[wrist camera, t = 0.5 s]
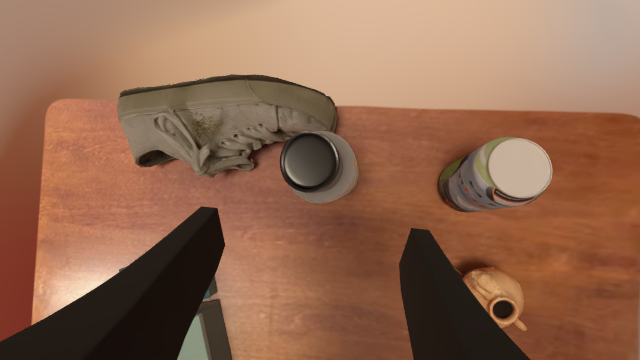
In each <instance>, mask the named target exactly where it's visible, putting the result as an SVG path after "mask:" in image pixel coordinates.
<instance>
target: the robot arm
mask: <svg viewBox="0 0 640 360" xmlns="http://www.w3.org/2000/svg"><path fill="white" fill-rule="evenodd" d="M224 247H225V242H224V237H223V233H222V228H221V223H220V218H219V214H218V209H217V208H211V207H200V208H199V209H198V210H197V211H195V212H194V213H193V214H192V215H191V216H189V217H188V218H187V219H186V220H185V221H184V222H182V223H181V224H180V225H179V226H178V227H177V228H175V229H174V230H173V231H172V232H171V233H169V234H168V235H167V236H166V237H165V238H163V239H162V240H161V241H160V242H158V243H157V244H156V245H155V246H153V247H152V248H151V249H150V250H148V251H147V252H146V253H145V254H143V255H142V256H141V257H139V258H138V259H137V260H135V261H134V262H133V263H131V264H130V265H129V266H127V267H126V268H125V269H123V270H122V271H120V272H119V273H118V274H116V275H115V276H113V277H112V278H110V279H109V280H107V281H106V282H104V283H103V284H101V285H100V286H98V287H97V288H95V289H94V290H92V291H90V292H89V293H87V294H86V295H84V296H82V297H81V298H79V299H77V300H75V301H74V302H72V303H70V304H69V305H67V306H65V307H64V308H62V309H60V310H58V311H57V312H55V313H53V314H52V315H50V316H48V317H46V318H45V319H43V320H41V321H39V322H37V323H35V324H33V325H32V326H30V327H28V328H26V329H24V330H22V331H20V332H18V333H16V334H15V335H13V336H11V337H9V338H7V339H5V340H3V341H1V342H0V360H177V359H178V356H179V353H180V351H181V348H182V345H183V343H184V340H185V337H186V335H187V333H188V330H189V328H190V326H191V324H192V322H193V319H194V317H195V315H196V313H197V311H198V309H199V307H200V305H201V303H202V301H203V298H204V296H205V294H206V292H207V290H208V288H209V286H210V284H211V282H212V279H213V277H214V275H215V273H216V271H217V268H218V265H219V262H220V259H221V256H222V253H223V250H224ZM399 268H400V284H401V293H402V299H403V304H404V310H405V315H406V320H407V326H408V331H409V336H410V341H411V347H412V352H413V358H414V360H530V359H529V358H528V357H527V356H526V355H525V354H524V353H523V352H522V351H521V349H520V348H519V347H518V346H517V345H516V344H515V343H514V342H513V341H512V340H511V339H510V338H509V336H508V335H507V334H506V333H505V332H504V331H503V330H502V329H501V328H500V326H499V325H498V324H497V323H496V322H495V321H494V319H493V318H492V317H491V316H490V315H489V313H488V312H487V311H486V310H485V308H484V307H483V306H482V305H481V303H480V302H479V301H478V300H477V298H476V297H475V296H474V295H473V293H472V292H471V291H470V289H469V288H468V287H467V285H466V284H465V282H464V281H463V280H462V278H461V277H460V276H459V274H458V273H457V271H456V270H455V269H454V267H453V266H452V264H451V263H450V261H449V260H448V258H447V257H446V255H445V254H444V253H443V251H442V249H441V248H440V246H439V245H438V243H437V242H436V240H435V239H434V237H433V236H432V234H431V233H430V231H429V230H424V229H414V228H411V231H410V234H409V237H408V240H407V243H406V245H405V248H404V251H403V254H402V257H401V260H400V263H399Z"/></svg>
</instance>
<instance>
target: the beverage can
mask: <svg viewBox="0 0 640 360" xmlns="http://www.w3.org/2000/svg"><path fill="white" fill-rule="evenodd" d="M551 177H552V164H551V160H550V158H549V156H548V155H547V153H546V152H545V151H544V150H543V149H542V148H541V147H540V146H539V145H537V144H536V143H534V142H532V141H529V140H526V139H520V138H515V137H502V138H497V139H494V140H492V141H490V142H488V143H486V144H485V145H483V146H481V147H479V148H478V149H476V150H474V151H473V152H471V153H469V154H468V155H466V156H464V157H462V158H461V159H459V160H457V161H456V162H454V163H452V164H450V165H449V166H448V167H446V168H445V170H444V171H443V172H442V174H441V176H440V179H439V190H440V194H441V196H442V198H443V199H444V201H445V202H446V203H447V204H448V205H449V206H450V207H452V208H454V209H455V210H458V211H462V212H475V211H483V210H491V209H499V208H507V207H515V206H521V205H525V204H528V203H530V202H532V201H534V200H535V199H537V198H538V197H539V196H540V195H541V194H542V192H543V191H544V190H545V189H546V187H547V186H548V185H549V183H550V181H551Z"/></svg>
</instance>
